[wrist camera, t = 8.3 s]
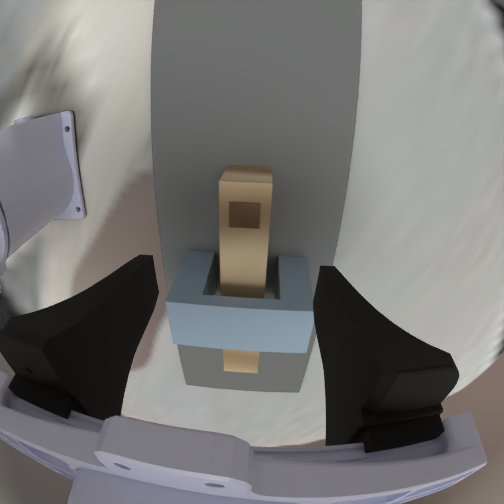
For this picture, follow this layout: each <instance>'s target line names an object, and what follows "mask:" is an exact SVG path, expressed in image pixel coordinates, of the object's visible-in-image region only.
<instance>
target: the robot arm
mask: <svg viewBox="0 0 504 504" xmlns="http://www.w3.org/2000/svg"><path fill="white" fill-rule="evenodd" d="M14 124H15V125H12V126H9V127H6V128H3V129H0V277H1V276H2V275H3V274H4V273H5V272H6V271H7V267H6V259H7V258H8V257H9V256H10V255H11V254H13V253H14V252H15V251H16V250H17V249H18V248H19V247H20V246H22V245H23V244H24V243H25V242H26V241H27V240H28V239H30V238H31V237H32V236H33V235H34V234H36V233H37V232H38V231H39V230H40V229H42V228H43V227H44V226H45V225H47V224H48V223H49V222H50V221H52V220H53V219H56V220H82V219H83V218H84V217H85V216H86V213H85V207H84V202H83V196H82V190H81V184H80V177H79V170H78V162H77V153H76V143H75V132H74V117H73V113H72V111H65V112H60V113H56V114H52V115H48V116H44V117H40V118H36V119H34V116H29V117H25V118H22V119H18V120H16V121H14ZM68 126H69V128H70V130H69V131H68ZM78 207H79V208H80V209H81V210H79V208H78ZM158 294H159V290H158V285H157V280H156V273H155V268H154V261H153V255H138V256H137V257H135V258H133V259H132V260H130V261H129V262H127V263H126V264H124V265H123V266H121V267H120V268H119V269H117V270H116V271H114V272H113V273H111V274H110V275H108V276H107V277H105V278H104V279H102V280H101V281H99V282H97V283H96V284H94V285H93V286H91V287H89V288H88V289H86V290H84V291H83V292H81V293H79V294H77V295H75V296H73V297H71V298H69V299H66V300H64V301H62V302H60V303H57V304H55V305H52V306H50V307H47V308H44V309H41V310H38V311H35V312H32V313H28V314H24V315H19V316H15V317H11V318H10V319H9V320H8V321H7V323H6V324H5V325H4V327H3V328H2V329H1V331H0V352H1V354H2V355H3V357H4V358H5V360H6V361H7V362H8V364H9V365H10V367H11V368H12V369H13V371H14V372H15V373H16V374H15V376H14V378H13V379H12V378H11V377H10V376H9V375H7V374H6V373H4V372H2V371H0V438H1V439H2V440H4V441H5V442H7V443H8V444H10V445H11V446H13V447H15V448H16V449H18V450H19V451H21V452H22V453H24V454H26V455H27V456H29V457H31V458H32V459H34V460H36V461H38V462H39V463H41V464H43V465H45V466H47V467H48V468H50V469H52V470H54V471H56V472H58V473H60V474H62V475H64V476H66V477H68V478H70V479H72V480H74V483H73V486H72V490H71V493H70V496H69V500H68V503H67V504H401V503H404V502H407V501H410V500H414V499H416V498H419V497H422V496H425V495H428V494H431V493H434V492H437V491H439V490H442V489H445V488H447V487H450V486H452V485H453V484H455V483H457V482H459V481H460V480H462V479H463V478H465V477H467V476H469V475H470V474H472V473H474V472H475V471H477V470H478V469H480V468H481V467H483V466H484V465H486V463H487V459H486V456H485V453H484V450H483V446H482V443H481V440H480V437H479V434H478V431H477V428H476V425H475V423H474V420H473V417H472V414H471V412H470V411H468V412H465V413H461V414H458V415H454V416H451V417H448V418H446V419H444V420H443V421H441V418H440V415H439V414H441V413H442V412H443V408H442V406H441V402H442V401H443V400H444V399H445V398H446V396H447V395H448V394H449V393H450V392H451V391H452V389H453V388H454V387H455V385H456V384H457V381H458V378H459V371H458V369H457V367H456V365H455V363H454V361H453V359H452V356H451V355H450V353H447V352H445V351H443V350H440V349H438V348H436V347H433V346H431V345H429V344H427V343H425V342H423V341H421V340H420V339H418V338H416V337H414V336H412V335H411V334H409V333H407V332H406V331H404V330H403V329H401V328H400V327H398V326H397V325H395V324H394V323H393V322H391V321H390V320H389V319H387V318H386V317H385V316H384V315H382V314H381V313H380V312H379V311H378V310H376V309H375V308H374V307H373V306H372V305H371V304H370V303H369V302H368V301H367V300H366V299H365V298H364V297H363V296H362V295H361V294H360V293H359V292H358V291H357V290H356V289H355V288H354V287H353V286H352V285H351V284H350V283H349V282H348V281H347V279H346V278H345V277H344V276H343V275H342V274H341V273H340V272H339V271H338V270H337V268H336V267H335V266H323V265H320V270H319V275H318V280H317V285H316V290H315V294H314V299H313V314H314V324H315V329H316V334H317V339H318V343H319V348H320V353H321V358H322V363H323V369H324V380H325V397H326V446H318V447H253V446H250V444H249V443H248V442H246V441H244V440H242V439H239V438H237V437H235V436H232V435H226V434H221V433H216V432H209V431H201V430H193V429H187V428H180V427H174V426H169V425H163V424H158V423H153V422H148V421H144V420H139V419H135V418H131V417H123V416H121V409H122V403H123V398H124V393H125V388H126V384H127V380H128V375H129V372H130V368H131V365H132V361H133V358H134V354H135V352H136V349H137V347H138V345H139V342H140V340H141V338H142V336H143V334H144V331H145V329H146V327H147V325H148V322H149V320H150V318H151V316H152V313H153V311H154V308H155V305H156V301H157V297H158Z"/></svg>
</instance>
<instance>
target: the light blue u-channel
mask: <svg viewBox="0 0 504 504" xmlns="http://www.w3.org/2000/svg"><path fill="white" fill-rule="evenodd" d="M313 299H314V295H313V290H312V284H311V279H310V274H309V269H308V264H307V259H306V257H295V256H278V265H277V275H276V284H275V294H274V299H258V298H242V297H227V296H216V268H215V252H209V251H192V250H188V251H187V254H186V256H185V258H184V260H183V262H182V265H181V267H180V269H179V271H178V274H177V276H176V278H175V280H174V283H173V285H172V287H171V289H170V292H169V294H168V296H167V299H166V301H165V303H166V308H167V313H168V318H169V324H170V328H171V333H172V338H173V343H174V344H180V345H189V346H198V347H207V348H218V349H230V350H244V351H260V352H282V353H306V352H307V348H308V344H309V340H310V336H311V332H312V328H313V324H314V314H313Z"/></svg>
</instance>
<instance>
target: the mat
mask: <svg viewBox="0 0 504 504" xmlns="http://www.w3.org/2000/svg"><path fill="white" fill-rule="evenodd" d="M361 29H362V0H155V5H154V17H153V31H152V52H151V132H152V154H153V170H154V184H155V196H156V207H157V216H158V225H159V234H160V242H161V250H162V258H163V265H164V272H165V278H166V285H167V291H168V294H169V292H170V289H171V287H172V285H173V283H174V280H175V278H176V276H177V274H178V271H179V269H180V267H181V265H182V262H183V260H184V258H185V256H186V254H187V251H188V250H192V251H209V252H215V268H216V296H221V284H220V240H219V180H220V179H221V177H222V175H223V173H224V171H225V169H226V167H227V166H228V165H246V166H266V167H272V182H273V186H272V200H271V214H270V228H269V242H268V255H267V268H266V281H265V293H264V299H274V294H275V284H276V275H277V265H278V256H295V257H306V259H307V264H308V269H309V274H310V279H311V284H312V290H313V295H314V294H315V290H316V285H317V280H318V275H319V270H320V265H323V266H333V261H334V256H335V251H336V246H337V241H338V236H339V231H340V226H341V220H342V214H343V209H344V203H345V197H346V191H347V184H348V178H349V171H350V164H351V156H352V148H353V140H354V132H355V123H356V113H357V102H358V90H359V76H360V58H361ZM315 336H316V329H315V324H313V328H312V332H311V336H310V340H309V344H308V348H307V352H306V353H282V352H260V351H259V362H258V373H246V372H232V371H224V360H223V349H218V348H207V347H198V346H189V345H180V344H177V345H178V350H179V354H180V359H181V364H182V368H183V372H184V377H185V381H186V385H193V386H201V387H210V388H220V389H231V390H244V391H262V392H299V391H300V388H301V385H302V381H303V378H304V375H305V372H306V368H307V365H308V361H309V358H310V354H311V351H312V347H313V344H314V340H315Z"/></svg>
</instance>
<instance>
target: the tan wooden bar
mask: <svg viewBox="0 0 504 504" xmlns="http://www.w3.org/2000/svg"><path fill="white" fill-rule="evenodd" d="M272 186H273V182H272V167H266V166H246V165H228V166H227V167H226V169H225V171H224V173H223V175H222V177H221V179H220V180H219V240H220V284H221V296H227V297H242V298H258V299H264V293H265V281H266V268H267V255H268V242H269V228H270V214H271V200H272ZM223 360H224V371H232V372H246V373H258V362H259V351H244V350H230V349H223Z"/></svg>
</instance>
